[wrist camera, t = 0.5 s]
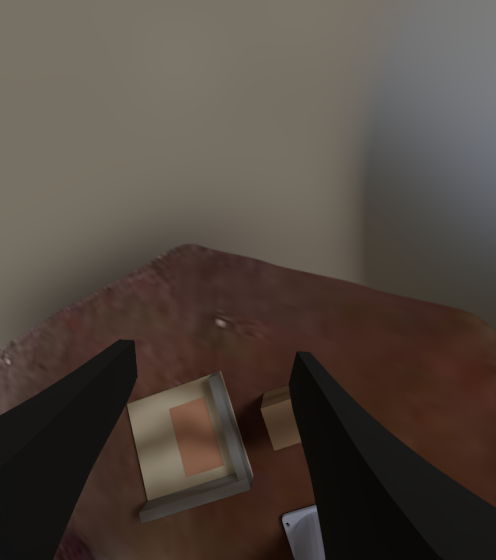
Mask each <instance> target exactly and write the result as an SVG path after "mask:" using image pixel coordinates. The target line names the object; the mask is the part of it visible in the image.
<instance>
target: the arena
mask: <svg viewBox="0 0 496 560" xmlns="http://www.w3.org/2000/svg"><path fill="white" fill-rule="evenodd" d="M127 407H128V412H129V416H130V421H131V425H132V430H133V435H134V439H135V444H136V448H137V453H138V458H139V462H140V467H141V471H142V476H143V481H144V485H145V490H146V494H147V499H148V501H147V503H146V504H145V505H144V507H143V508H142V510H141V511H140V512H139V515H140V520H141V523H145V522H148V521H151V520H154V519H158V518H161V517H164V516H167V515H170V514H174V513H177V512H180V511H183V510H187V509H190V508H193V507H196V506H199V505H203V504H206V503H209V502H212V501H215V500H219V499H222V498H225V497H228V496H232V495H235V494H238V493H241V492H244V491H248V490H251V486H252V480H253V473H252V470H251V466H250V463H249V460H248V457H247V453H246V450H245V447H244V444H243V440H242V437H241V434H240V431H239V428H238V424H237V421H236V418H235V415H234V411H233V408H232V405H231V402H230V399H229V395H228V392H227V389H226V386H225V382H224V379H223V376H222V373H221V371H219V372H216V373H213V374H210V375H208V376H205V377H202V378H199V379H196V380H194V381H191V382H188V383H185V384H182V385H179V386H177V387H174V388H171V389H168V390H165V391H163V392H160V393H157V394H154V395H151V396H148V397H146V398H143V399H140V400H137V401H134V402H131V403H129V404H127Z"/></svg>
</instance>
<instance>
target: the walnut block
mask: <svg viewBox="0 0 496 560" xmlns="http://www.w3.org/2000/svg"><path fill="white" fill-rule="evenodd" d="M261 412H262V415H263V418H264V421H265V424H266V427H267V430H268V433H269V436H270V439H271V442H272V445H273V448H274V451H275V450H278V449H281V448H284V447H288V446H291V445H294V444H297V443H300V442H301V439H300V435H299V431H298V428H297V424H296V420H295V417H294V413H293V409H292V404H291V398H290V391H289V385H286V386H283V387H280V388H277V389H274V390H271V391H268V392H265V393H264V396H263V400H262V405H261Z"/></svg>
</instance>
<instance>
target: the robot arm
mask: <svg viewBox="0 0 496 560" xmlns="http://www.w3.org/2000/svg"><path fill="white" fill-rule="evenodd" d="M137 377H138V376H137V365H136V354H135V342H134V340H121V339H120V340H118V341H117V342H115V343H114V344H112V345H111V346H109V347H108V348H106V349H105V350H104V351H102V352H101V353H99V354H98V355H96V356H95V357H94V358H92V359H91V360H89V361H88V362H86V363H85V364H83V365H82V366H81V367H79V368H78V369H76V370H75V371H73V372H72V373H70V374H69V375H67V376H65V377H64V378H62V379H61V380H59V381H58V382H56V383H54V384H53V385H51V386H50V387H48V388H47V389H45V390H43V391H42V392H40V393H39V394H37V395H35V396H34V397H32V398H30V399H29V400H27V401H25V402H23V403H22V404H20V405H18V406H16V407H14V408H13V409H11V410H9V411H7V412H5V413H4V414H2V415H0V560H53V558H54V556H55V553H56V551H57V548H58V546H59V543H60V541H61V538H62V536H63V534H64V531H65V529H66V527H67V524H68V522H69V519H70V517H71V515H72V512H73V510H74V508H75V505H76V503H77V501H78V498H79V496H80V494H81V492H82V489H83V487H84V485H85V482H86V480H87V478H88V476H89V473H90V471H91V469H92V467H93V465H94V463H95V461H96V459H97V457H98V456H99V454H100V452H101V450H102V448H103V446H104V444H105V443H106V441H107V439H108V437H109V435H110V433H111V431H112V430H113V428H114V426H115V424H116V422H117V420H118V419H119V417H120V415H121V413H122V411H123V409H124V407H125V405H126V403H127V401H128V399H129V397H130V395H131V392H132V390H133V387H134V384H135V382H136V379H137ZM289 391H290V398H291V404H292V409H293V413H294V417H295V420H296V424H297V428H298V431H299V435H300V439H301V442H302V446H303V449H304V453H305V457H306V460H307V464H308V468H309V472H310V476H311V481H312V486H313V492H314V497H315V502H316V505H313V506H310V507H306V508H303V509H299V510H296V511H293V512H289V513H286V514H284V515H283V516H282V522H283V525H284V528H285V531H286V534H287V537H288V540H289V544H290V547H291V550H292V553H293V556H294V559H295V560H496V507H494V506H493V505H491V504H489V503H488V502H486V501H485V500H483V499H481V498H480V497H478V496H477V495H475V494H474V493H472V492H471V491H469V490H468V489H466V488H465V487H463V486H462V485H460V484H459V483H457V482H456V481H454V480H453V479H451V478H450V477H449V476H447V475H446V474H444V473H443V472H441V471H440V470H439V469H437V468H436V467H434V466H433V465H432V464H430V463H429V462H427V461H426V460H425V459H423V458H422V457H421V456H420V455H418V454H417V453H416V452H414V451H413V450H412V449H410V448H409V447H408V446H406V445H405V444H404V443H403V442H401V441H400V440H399V439H398V438H396V437H395V436H394V435H393V434H392V433H390V432H389V431H388V430H387V429H386V428H385V427H383V426H382V425H381V424H380V423H379V422H378V421H376V420H375V419H374V418H373V417H372V416H371V415H370V414H369V413H367V412H366V411H365V410H364V409H363V408H362V407H361V406H360V405H359V404H358V403H357V402H356V401H355V400H354V399H353V398H352V397H351V396H350V395H349V394H348V393H347V392H346V391H345V390H344V389H343V388H342V387H341V386H340V385H339V384H338V383H337V382H336V381H335V379H334V378H333V377H332V376H331V375H330V374H329V373H328V372H327V371H326V370H325V368H324V367H323V366H322V365H321V364H320V363H319V362H318V361H317V360H316V358H315V357H314V356H313V355H312V354H311V353H310V352H299V351H297V353H296V357H295V361H294V365H293V369H292V373H291V377H290V381H289ZM286 523H289V525H287V524H286Z"/></svg>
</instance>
